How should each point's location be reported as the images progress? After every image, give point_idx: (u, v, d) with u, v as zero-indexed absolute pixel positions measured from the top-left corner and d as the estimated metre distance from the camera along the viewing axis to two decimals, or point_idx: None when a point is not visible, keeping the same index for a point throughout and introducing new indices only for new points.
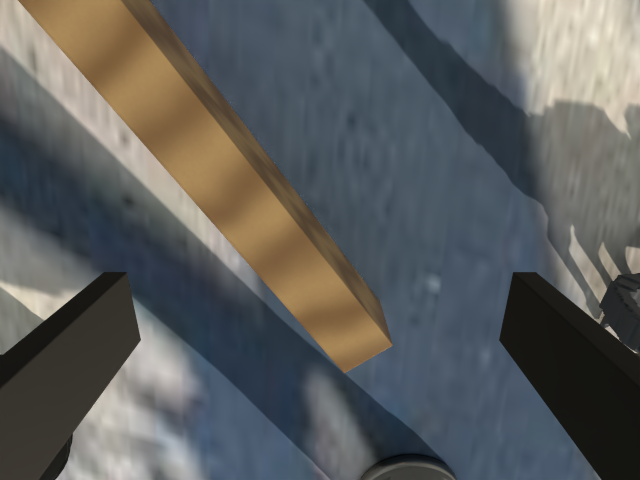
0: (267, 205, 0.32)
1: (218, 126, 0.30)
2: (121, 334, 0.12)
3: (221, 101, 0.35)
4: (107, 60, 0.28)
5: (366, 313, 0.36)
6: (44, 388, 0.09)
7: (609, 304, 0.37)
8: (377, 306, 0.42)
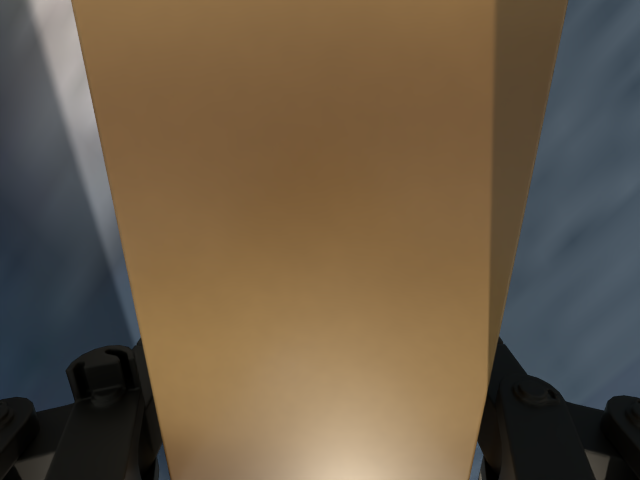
0: None
1: None
2: None
3: None
4: None
5: None
6: None
7: None
8: None
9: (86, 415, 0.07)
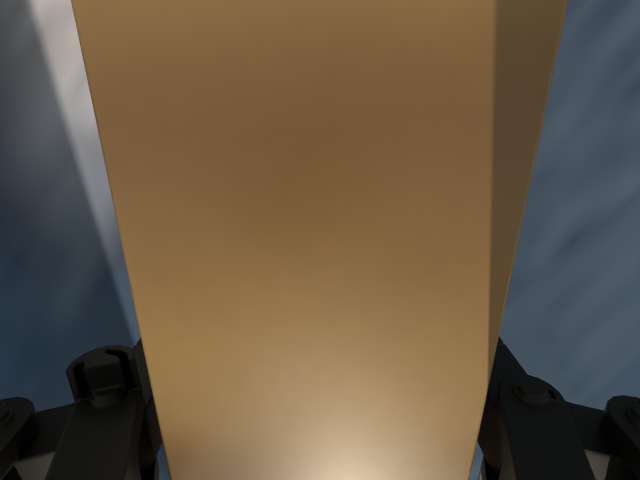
0: None
1: None
2: None
3: None
4: None
5: None
6: None
7: None
8: None
9: (86, 415, 0.07)
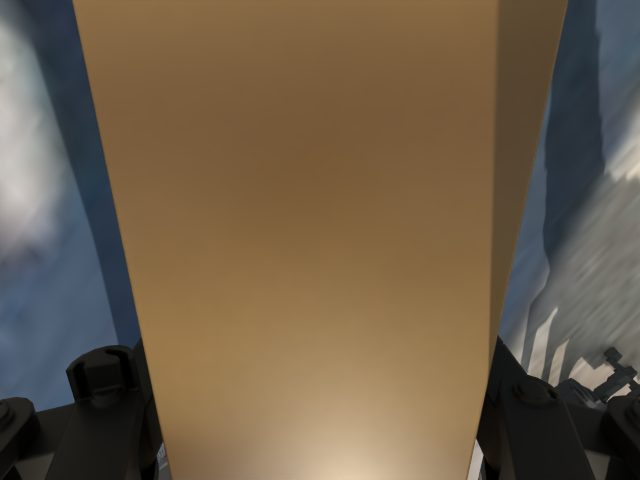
0: None
1: None
2: None
3: None
4: None
5: None
6: None
7: None
8: None
9: (86, 415, 0.07)
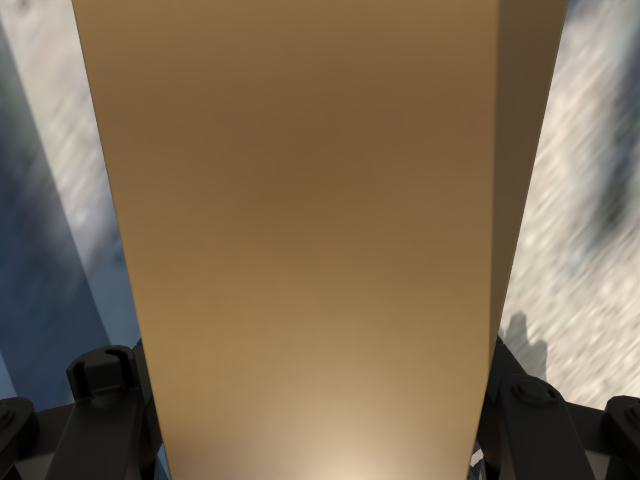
0: None
1: None
2: None
3: None
4: None
5: None
6: None
7: None
8: None
9: (86, 415, 0.07)
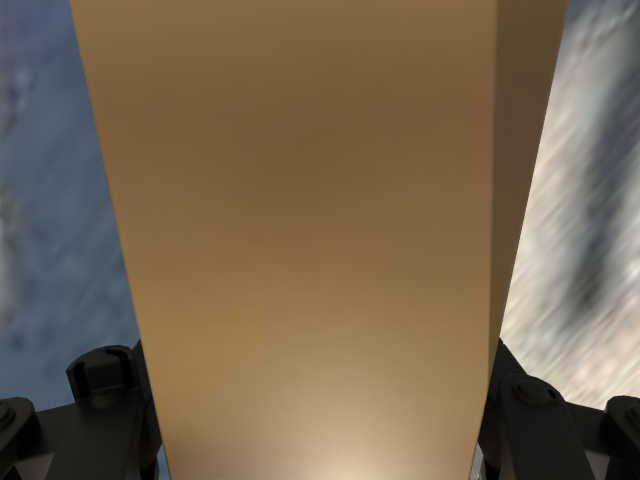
0: None
1: None
2: None
3: None
4: None
5: None
6: None
7: None
8: None
9: (86, 415, 0.07)
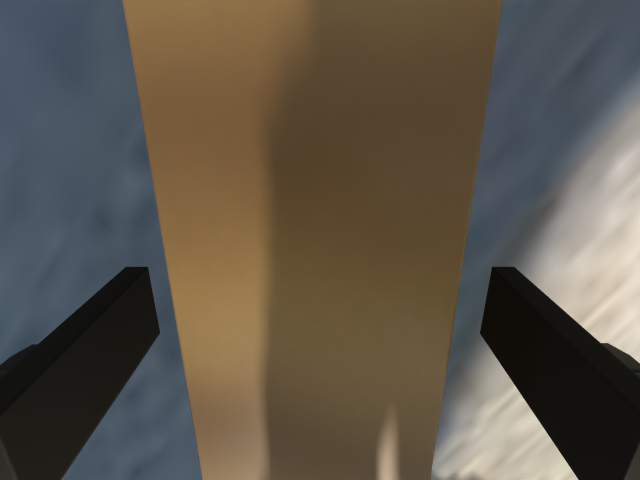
0: None
1: None
2: (143, 327, 0.12)
3: None
4: None
5: None
6: (77, 376, 0.09)
7: None
8: None
9: None
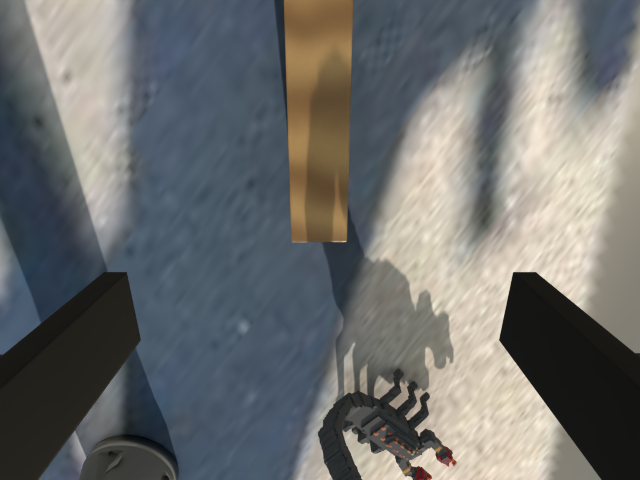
0: (340, 47, 0.33)
1: None
2: (121, 334, 0.12)
3: None
4: None
5: (346, 199, 0.38)
6: (44, 388, 0.09)
7: (335, 406, 0.50)
8: None
9: None
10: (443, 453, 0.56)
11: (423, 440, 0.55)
